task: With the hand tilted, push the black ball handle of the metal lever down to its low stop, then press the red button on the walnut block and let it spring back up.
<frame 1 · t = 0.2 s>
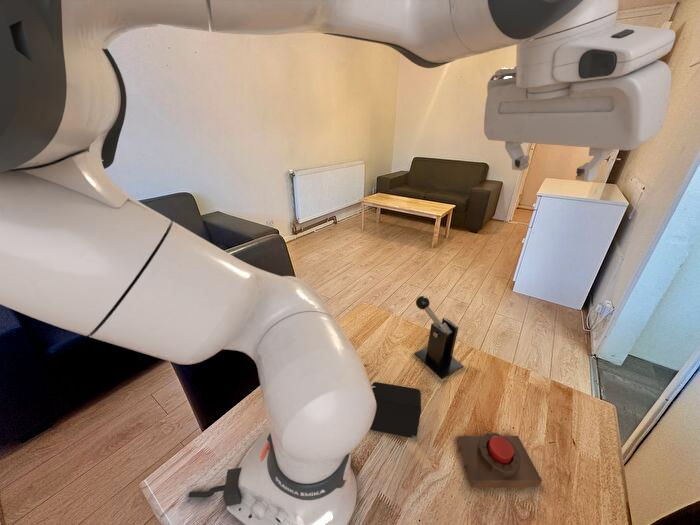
hand: (549, 173, 40), 52 cm above the table, tool tilted 20°, fingers open, 8 cm apart
electronic device: (392, 425, 61), on the table
button block: (494, 463, 54), on the table
bracket: (437, 362, 77), on the table
button: (500, 449, 52), point 4 cm above the table, slide at 0.1 cm
lever: (432, 315, 74), point 13 cm above the table, hinge at 24.0°
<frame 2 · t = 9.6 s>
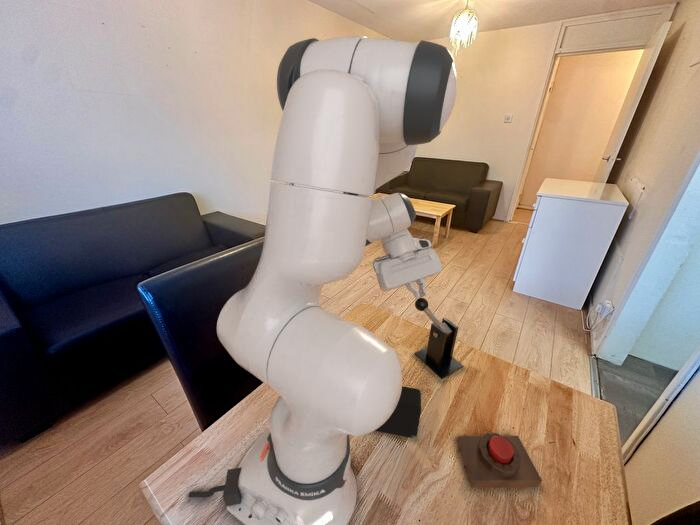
hand: (421, 297, 76), 16 cm above the table, tool tilted 45°, fingers closed, pressing on lever
lever: (431, 316, 75), point 13 cm above the table, hinge at 18.9°, touching gripper
everything else where it was.
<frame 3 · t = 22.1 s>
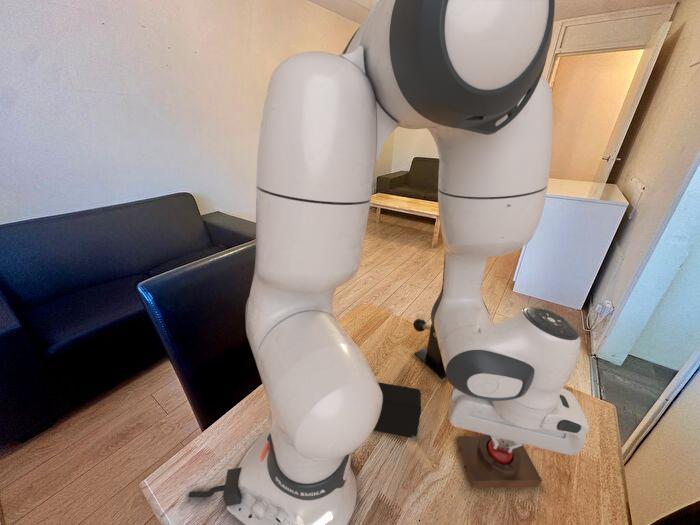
hand: (500, 447, 53), 5 cm above the table, tool pointing down, fingers closed, pressing on button
button: (499, 452, 53), point 4 cm above the table, slide at -0.7 cm, touching gripper
lever: (430, 327, 76), point 9 cm above the table, hinge at -25.6°
everything else where it was.
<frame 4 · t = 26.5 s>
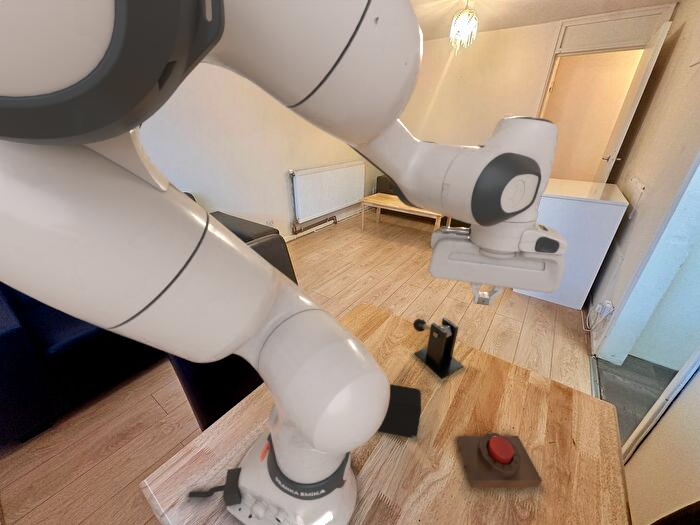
hand: (481, 302, 52), 29 cm above the table, tool pointing down, fingers closed
button: (500, 449, 52), point 4 cm above the table, slide at 0.1 cm
everything else where it was.
at the end: lever at -26° (first picture: +24°); button pushed in 1.1 cm at the most during the clip, back to where it started at the end; button slide at 0.1 cm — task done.
